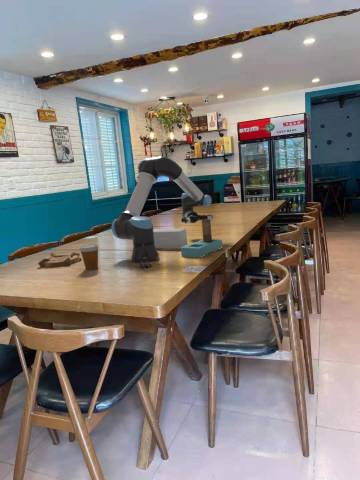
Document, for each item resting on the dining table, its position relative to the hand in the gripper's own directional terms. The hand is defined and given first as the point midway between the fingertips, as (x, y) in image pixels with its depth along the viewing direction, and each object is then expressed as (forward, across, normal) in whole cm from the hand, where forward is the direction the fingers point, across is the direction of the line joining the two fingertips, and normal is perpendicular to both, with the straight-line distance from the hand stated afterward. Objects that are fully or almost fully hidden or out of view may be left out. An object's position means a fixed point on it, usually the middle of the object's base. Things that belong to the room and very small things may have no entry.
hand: (200, 220), depth 210 cm
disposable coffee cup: (+19, +66, -17) cm, 71 cm away
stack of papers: (-16, +23, -17) cm, 32 cm away
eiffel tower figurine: (+32, +39, -18) cm, 53 cm away
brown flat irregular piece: (-6, +84, -18) cm, 86 cm away
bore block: (+16, +4, -16) cm, 23 cm away
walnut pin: (+12, 0, -15) cm, 19 cm away
